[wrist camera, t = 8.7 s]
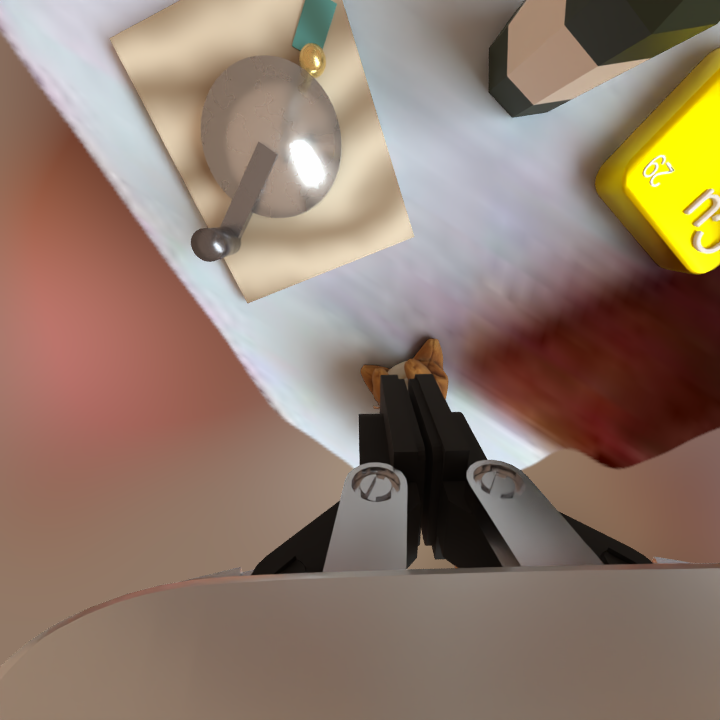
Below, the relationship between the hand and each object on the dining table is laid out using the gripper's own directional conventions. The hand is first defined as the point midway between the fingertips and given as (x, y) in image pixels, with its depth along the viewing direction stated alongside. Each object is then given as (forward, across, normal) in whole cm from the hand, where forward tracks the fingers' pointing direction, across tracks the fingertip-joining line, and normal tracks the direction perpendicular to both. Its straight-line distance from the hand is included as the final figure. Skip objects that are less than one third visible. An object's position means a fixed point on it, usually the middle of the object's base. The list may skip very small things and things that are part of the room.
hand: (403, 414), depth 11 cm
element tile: (+30, -32, -10) cm, 45 cm away
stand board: (+29, +8, -12) cm, 33 cm away
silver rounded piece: (+27, +9, -11) cm, 31 cm away
